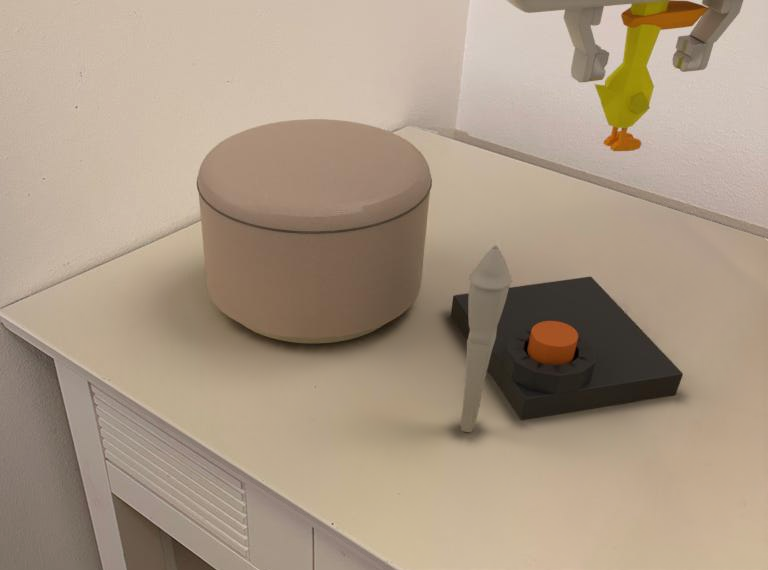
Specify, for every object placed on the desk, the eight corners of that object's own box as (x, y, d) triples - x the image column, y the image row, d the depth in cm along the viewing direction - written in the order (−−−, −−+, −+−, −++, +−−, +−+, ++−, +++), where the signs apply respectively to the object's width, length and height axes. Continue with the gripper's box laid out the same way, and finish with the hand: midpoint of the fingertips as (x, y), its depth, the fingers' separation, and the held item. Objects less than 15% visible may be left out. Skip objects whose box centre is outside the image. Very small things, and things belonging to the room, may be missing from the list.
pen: (445, 436, 61) (469, 252, 51) (453, 413, 63) (478, 231, 53) (481, 444, 60) (513, 259, 51) (488, 421, 62) (521, 237, 53)
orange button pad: (586, 296, 74) (595, 258, 72) (676, 395, 64) (690, 355, 62) (449, 315, 72) (454, 277, 70) (520, 420, 62) (528, 380, 60)
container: (462, 287, 75) (480, 151, 67) (325, 383, 66) (327, 237, 58) (304, 224, 84) (303, 97, 76) (162, 299, 75) (145, 163, 67)
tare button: (561, 338, 64) (565, 317, 63) (581, 363, 62) (586, 342, 61) (519, 344, 64) (523, 323, 62) (538, 370, 61) (543, 348, 60)
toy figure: (652, 131, 63) (706, -65, 55) (682, 150, 60) (743, -52, 52) (566, 141, 61) (609, -59, 53) (593, 161, 59) (642, -45, 51)
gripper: (549, -176, 44) (507, 107, 54) (905, -196, 47) (806, 75, 57) (499, -191, 49) (468, 72, 58) (827, -208, 52) (748, 44, 61)
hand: (638, 73), depth 57 cm, fingers closed on toy figure, 6 cm apart
